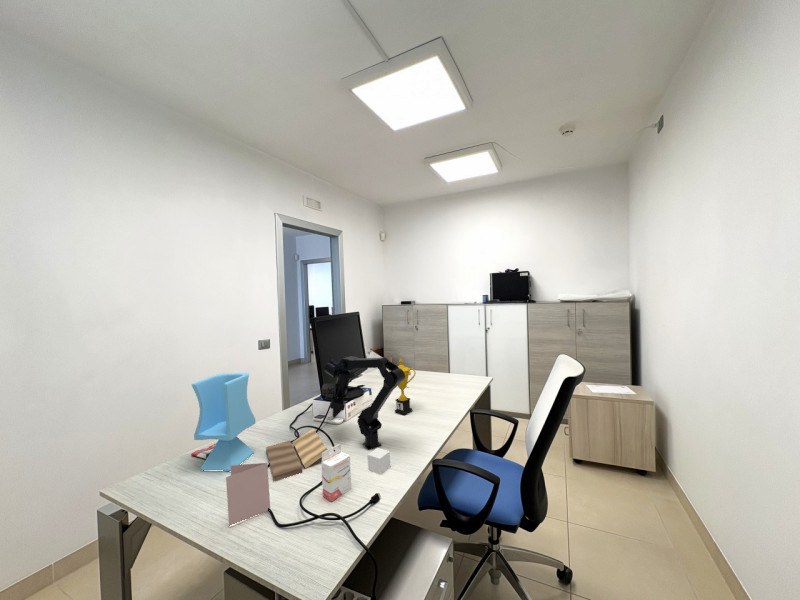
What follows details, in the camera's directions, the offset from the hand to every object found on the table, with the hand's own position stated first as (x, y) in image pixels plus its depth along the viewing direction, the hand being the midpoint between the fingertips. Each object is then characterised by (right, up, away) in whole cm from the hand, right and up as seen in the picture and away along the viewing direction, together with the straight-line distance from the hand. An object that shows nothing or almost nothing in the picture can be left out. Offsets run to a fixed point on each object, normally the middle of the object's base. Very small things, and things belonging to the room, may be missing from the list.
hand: (334, 411), depth 145 cm
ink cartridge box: (+10, -13, -42) cm, 45 cm away
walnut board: (-17, -13, -20) cm, 29 cm away
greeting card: (-16, -14, -51) cm, 56 cm away
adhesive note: (+23, -12, -28) cm, 38 cm away
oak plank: (-7, -11, -14) cm, 19 cm away
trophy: (+33, -10, +25) cm, 43 cm away
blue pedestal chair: (-40, -15, -18) cm, 46 cm away
